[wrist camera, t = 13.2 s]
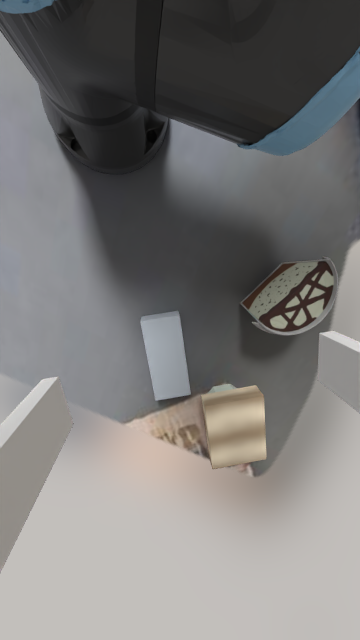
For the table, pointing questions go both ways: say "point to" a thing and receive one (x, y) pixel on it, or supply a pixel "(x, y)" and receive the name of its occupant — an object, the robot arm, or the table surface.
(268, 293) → the food container
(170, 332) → the light gray rectangular block
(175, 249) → the table surface
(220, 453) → the gold metallic plate
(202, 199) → the table surface
